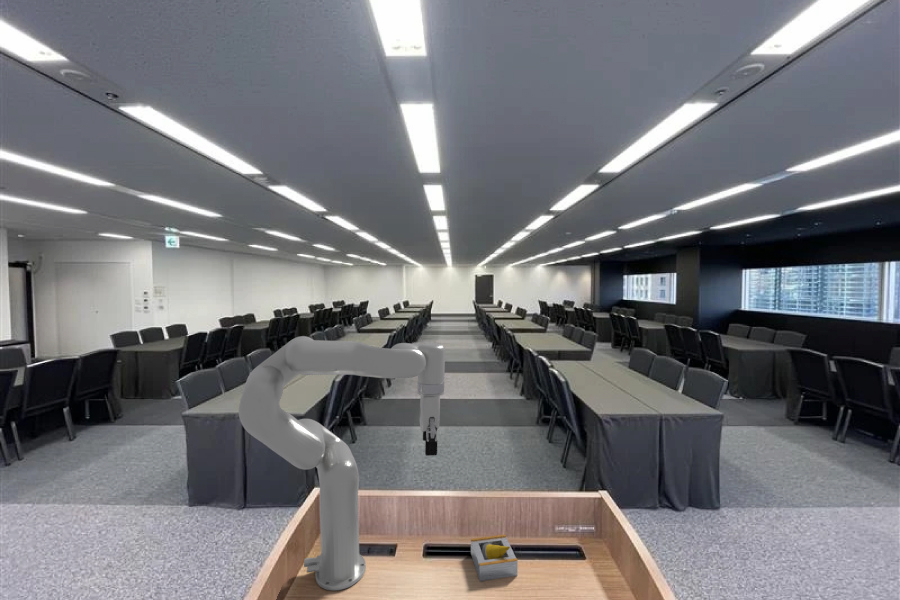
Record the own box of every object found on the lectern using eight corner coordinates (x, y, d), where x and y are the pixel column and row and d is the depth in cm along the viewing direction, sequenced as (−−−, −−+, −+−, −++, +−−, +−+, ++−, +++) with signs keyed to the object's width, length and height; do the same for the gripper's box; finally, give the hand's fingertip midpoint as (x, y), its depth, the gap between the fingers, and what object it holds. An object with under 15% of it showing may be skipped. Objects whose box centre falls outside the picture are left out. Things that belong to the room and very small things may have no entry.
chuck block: (479, 581, 99) (479, 564, 98) (470, 553, 109) (470, 538, 108) (517, 575, 100) (517, 559, 100) (505, 548, 110) (505, 534, 110)
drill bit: (487, 555, 108) (516, 544, 104) (485, 574, 103) (515, 563, 100) (475, 542, 107) (504, 531, 104) (472, 561, 103) (502, 549, 99)
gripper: (415, 379, 117) (414, 435, 118) (419, 397, 100) (418, 462, 101) (440, 379, 118) (439, 434, 119) (448, 396, 101) (446, 460, 102)
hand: (429, 447), depth 110 cm, fingers open, 9 cm apart
